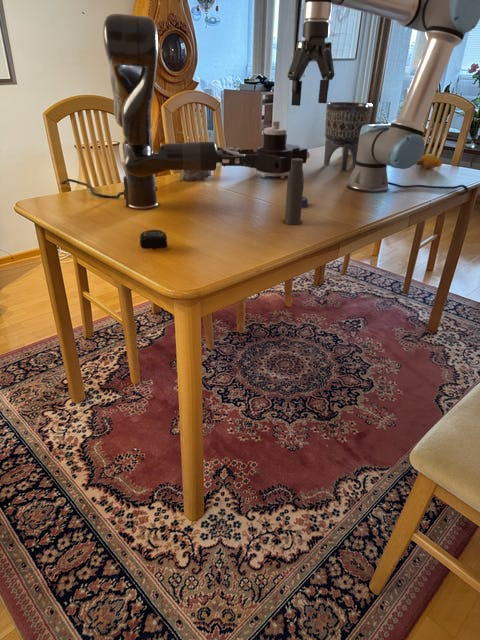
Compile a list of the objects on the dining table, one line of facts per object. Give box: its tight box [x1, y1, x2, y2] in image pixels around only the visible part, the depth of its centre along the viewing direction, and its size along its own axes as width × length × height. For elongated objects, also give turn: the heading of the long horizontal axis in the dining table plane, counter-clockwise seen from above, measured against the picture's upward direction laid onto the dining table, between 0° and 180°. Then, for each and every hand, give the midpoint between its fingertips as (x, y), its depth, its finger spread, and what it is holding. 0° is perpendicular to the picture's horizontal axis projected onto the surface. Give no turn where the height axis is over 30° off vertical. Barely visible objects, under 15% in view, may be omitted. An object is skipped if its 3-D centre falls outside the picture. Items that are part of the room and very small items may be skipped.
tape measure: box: [139, 229, 168, 250], centre depth 117 cm, size 7×7×4 cm
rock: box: [179, 169, 213, 182], centre depth 182 cm, size 13×9×6 cm, turn 131°
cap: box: [302, 196, 309, 208], centre depth 154 cm, size 4×4×2 cm
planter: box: [323, 101, 374, 172], centre depth 204 cm, size 20×20×26 cm
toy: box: [415, 153, 443, 170], centre depth 212 cm, size 11×6×15 cm
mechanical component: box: [238, 120, 311, 179], centre depth 191 cm, size 22×21×30 cm
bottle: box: [284, 158, 305, 226], centre depth 134 cm, size 5×5×18 cm
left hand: (256, 156), depth 127 cm, fingers open, 8 cm apart
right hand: (309, 104), depth 139 cm, fingers open, 13 cm apart
